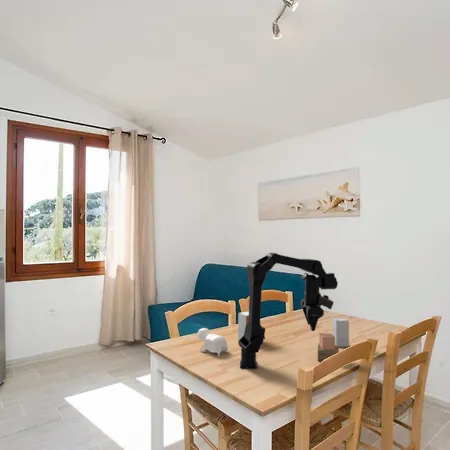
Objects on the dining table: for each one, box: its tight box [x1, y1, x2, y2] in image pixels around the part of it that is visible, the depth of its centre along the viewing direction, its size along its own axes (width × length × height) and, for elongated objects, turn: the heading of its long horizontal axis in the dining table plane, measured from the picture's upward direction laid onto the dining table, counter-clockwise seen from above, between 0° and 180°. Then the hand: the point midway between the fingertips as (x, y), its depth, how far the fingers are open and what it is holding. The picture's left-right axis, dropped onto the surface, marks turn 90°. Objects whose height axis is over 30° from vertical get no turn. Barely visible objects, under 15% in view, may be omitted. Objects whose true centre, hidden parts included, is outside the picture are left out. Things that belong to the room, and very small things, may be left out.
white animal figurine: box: [197, 327, 230, 357], centre depth 147 cm, size 9×8×15 cm
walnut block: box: [317, 343, 340, 363], centre depth 138 cm, size 8×8×5 cm
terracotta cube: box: [318, 332, 335, 350], centre depth 138 cm, size 5×5×5 cm
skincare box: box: [332, 317, 350, 348], centre depth 154 cm, size 6×4×12 cm
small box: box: [237, 310, 249, 341], centre depth 160 cm, size 8×6×13 cm
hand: (311, 327), depth 140 cm, fingers open, 9 cm apart
